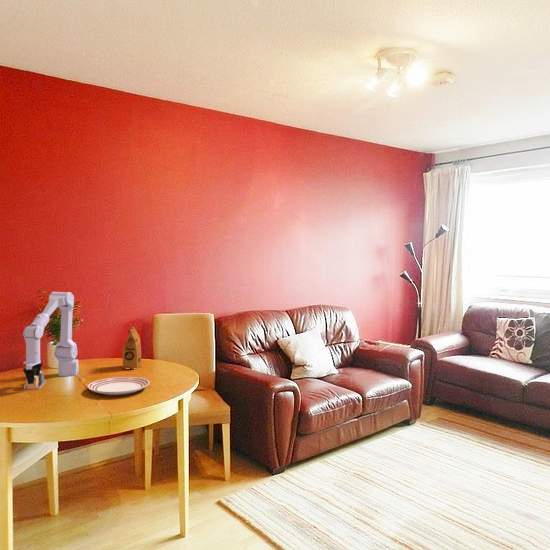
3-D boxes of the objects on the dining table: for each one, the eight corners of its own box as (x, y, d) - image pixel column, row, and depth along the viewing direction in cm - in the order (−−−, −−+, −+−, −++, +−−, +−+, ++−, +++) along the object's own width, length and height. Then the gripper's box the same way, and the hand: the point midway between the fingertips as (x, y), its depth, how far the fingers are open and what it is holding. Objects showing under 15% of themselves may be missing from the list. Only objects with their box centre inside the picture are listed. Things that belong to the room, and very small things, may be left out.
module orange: (38, 386, 219) (38, 375, 219) (35, 388, 215) (35, 377, 215) (29, 386, 218) (29, 375, 218) (26, 389, 214) (26, 377, 214)
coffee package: (119, 370, 257) (119, 330, 256) (125, 364, 269) (126, 326, 268) (137, 370, 257) (138, 330, 256) (143, 364, 269) (143, 326, 268)
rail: (46, 384, 226) (46, 377, 226) (39, 391, 215) (39, 384, 215) (31, 384, 225) (31, 378, 225) (24, 392, 213) (24, 385, 213)
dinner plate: (88, 384, 228) (88, 377, 228) (146, 380, 238) (146, 373, 238) (87, 401, 203) (87, 394, 203) (152, 396, 213) (152, 388, 213)
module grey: (43, 381, 227) (43, 370, 226) (41, 384, 223) (41, 373, 222) (34, 382, 226) (34, 371, 226) (32, 384, 222) (32, 373, 222)
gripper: (28, 349, 222) (28, 377, 223) (18, 355, 208) (18, 386, 208) (44, 348, 223) (44, 376, 224) (35, 355, 209) (35, 385, 210)
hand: (33, 381), depth 216 cm, fingers open, 7 cm apart
